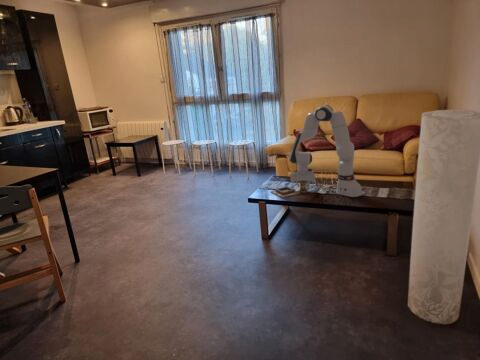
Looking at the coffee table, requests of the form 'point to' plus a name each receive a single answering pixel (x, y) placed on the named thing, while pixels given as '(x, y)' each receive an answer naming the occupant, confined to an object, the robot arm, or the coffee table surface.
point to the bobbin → (302, 187)
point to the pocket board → (285, 192)
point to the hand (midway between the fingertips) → (303, 186)
